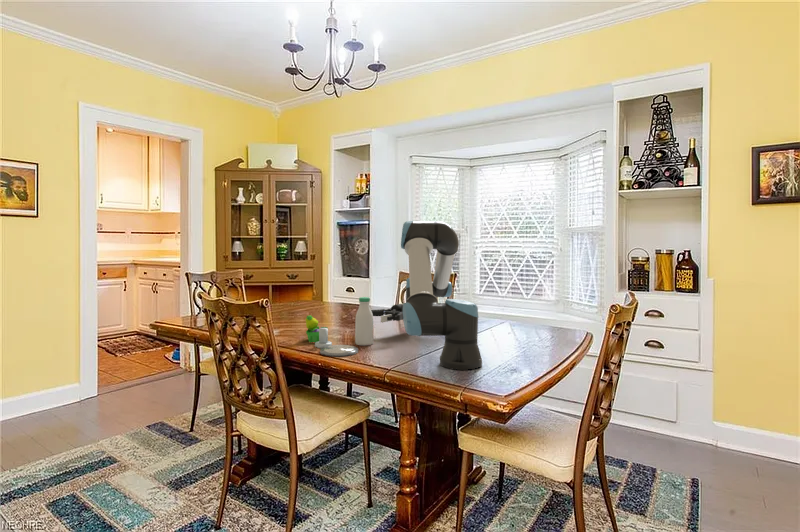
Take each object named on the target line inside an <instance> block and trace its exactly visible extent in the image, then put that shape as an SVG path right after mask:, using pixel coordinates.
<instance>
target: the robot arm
mask: <svg viewBox="0 0 800 532" xmlns="http://www.w3.org/2000/svg"><path fill="white" fill-rule="evenodd" d="M400 240H401V241H400V249H403V250H404V252H405V254H406V255H407V256H408V275H409V277H408V278H406V280H405V281H406V282H405V283H406V284H405V302H404V303H398V304H393V305H392V306H391V307H390V308H387V309H385V308H379V309H371V311H372V314H373V317H380V323H386V322H387V323H388V322H391V321H396V322H400V321H402V320H403V325H404V330H405V332H406V334H407V335H409V336H414V337H415V336H416V337H425V336H426V337H427V336H428V337H431V336H432V337H434V336H437V337H441V336H442V337H443V336H444V344H443V347H442V350H441V354H440V356H439V365H440V366H441V367H443V368H446V369H449V368H450V369H449V370H456V369H457V371H469V370H468V369H472V370H476V369H475V368H477V369H479V368H478V367H480V368H482V367H483V359H482V355H481V352H480V349H479V345H478V335H479V334H478V333H479V332H478V330H479V308H478V305H477V304H476V303H474V302H472V301H468V300H464V299H456V298H450V297H452V294H453V285H452V282H451V281H450V278H451V272H452V269H453V263H454V258H455V255H456V254H457V252H458V250H459V245H460V242H459V238H458V235H457V233H456V231H455V229H454V228H453V227H451V226H450V225H449V224H448V223H446V222H444V221H437V220H436V221H434V220H433V221H431V220H407V221H405V222H403V224H402V230H401V237H400ZM433 250H436V251H437V253H436V259H435V265H434V274H433V277H432V268H431V267H432V265H431V256H430V254H431V253H432V252H433ZM432 278H433V279H432ZM438 298H446V299H445V301H444V303H443V302H442V303H441V302H439V301H438Z"/></svg>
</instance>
